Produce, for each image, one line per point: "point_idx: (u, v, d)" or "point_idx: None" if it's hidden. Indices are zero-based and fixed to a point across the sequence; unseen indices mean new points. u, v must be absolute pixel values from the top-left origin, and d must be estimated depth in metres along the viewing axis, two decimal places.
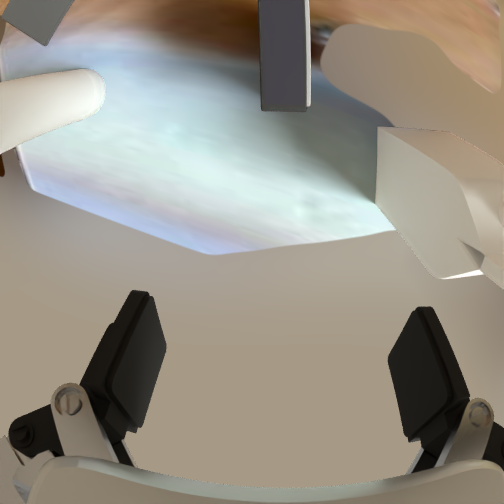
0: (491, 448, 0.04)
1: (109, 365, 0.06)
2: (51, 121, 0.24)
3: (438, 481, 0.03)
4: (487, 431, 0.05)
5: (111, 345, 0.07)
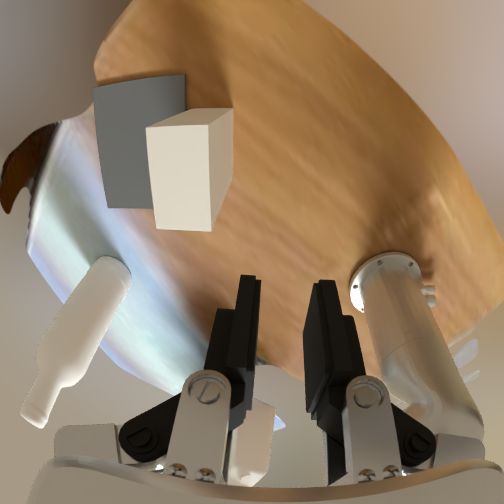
0: None
1: (248, 346, 0.07)
2: None
3: (438, 481, 0.03)
4: (387, 404, 0.06)
5: (242, 326, 0.08)
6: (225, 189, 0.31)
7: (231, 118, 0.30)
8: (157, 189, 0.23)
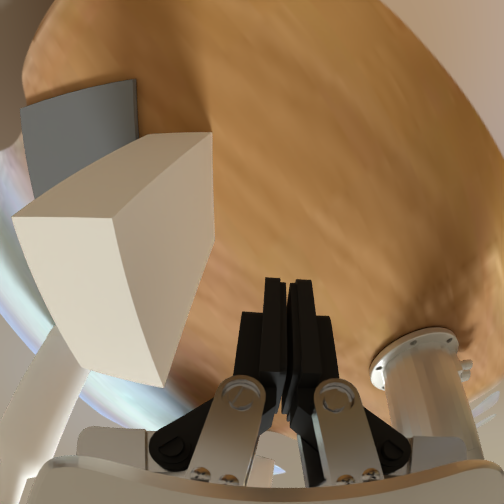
0: None
1: (279, 349, 0.07)
2: None
3: (438, 481, 0.03)
4: (359, 405, 0.06)
5: (272, 330, 0.08)
6: (197, 278, 0.19)
7: (207, 151, 0.19)
8: (61, 321, 0.11)
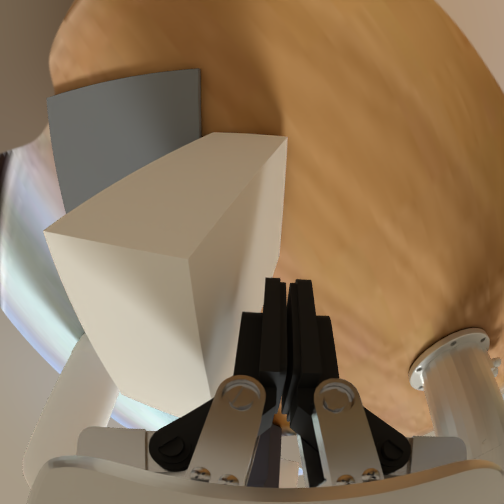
0: None
1: (279, 349, 0.07)
2: None
3: (438, 481, 0.03)
4: (359, 405, 0.06)
5: (272, 330, 0.08)
6: (261, 301, 0.17)
7: (282, 159, 0.17)
8: (103, 352, 0.10)
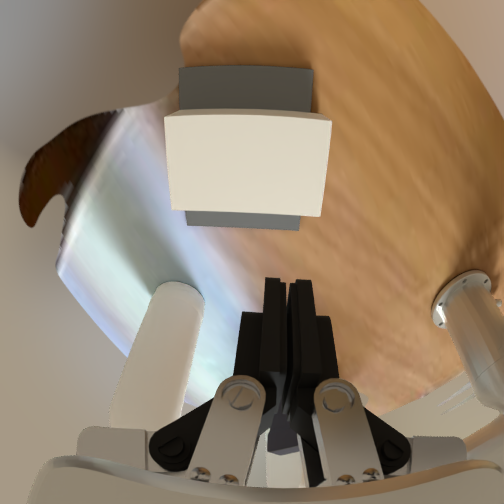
0: None
1: (280, 350, 0.07)
2: None
3: (438, 481, 0.03)
4: (359, 405, 0.06)
5: (272, 330, 0.08)
6: (254, 205, 0.26)
7: (312, 131, 0.22)
8: None
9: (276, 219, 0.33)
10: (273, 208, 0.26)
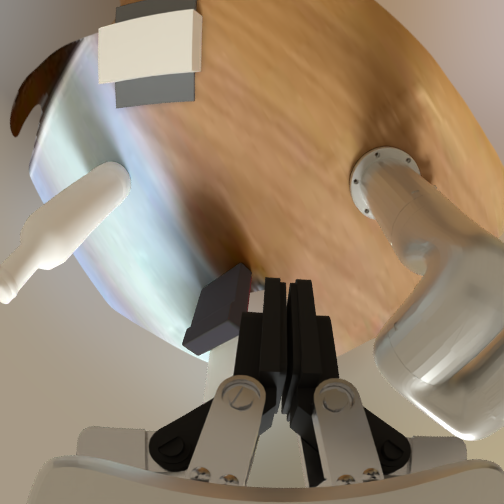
0: None
1: (279, 350, 0.07)
2: None
3: (438, 481, 0.03)
4: (359, 405, 0.06)
5: (272, 330, 0.08)
6: (147, 70, 0.30)
7: (180, 17, 0.26)
8: None
9: (176, 93, 0.37)
10: (159, 69, 0.30)
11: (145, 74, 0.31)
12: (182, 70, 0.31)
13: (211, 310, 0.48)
